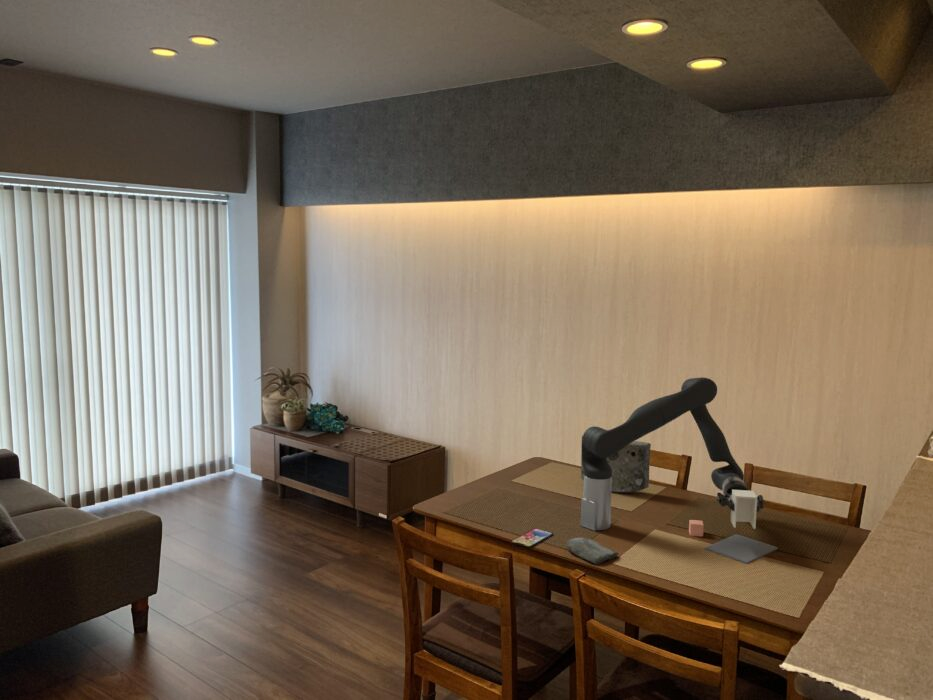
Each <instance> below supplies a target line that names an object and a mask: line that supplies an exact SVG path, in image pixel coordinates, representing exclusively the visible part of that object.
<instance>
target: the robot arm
mask: <svg viewBox="0 0 933 700" xmlns="http://www.w3.org/2000/svg"><path fill="white" fill-rule="evenodd" d="M680 389H681V390H680V391H677V392H675V393H672V394H669V395H665V396H661V397H658V398H656V399H653V400H650V401H648V402H647V403H644V404H641V405H640V406H638V407H637V408H636V409H634V411H633V412H632V413H631V414H630V416H629V417H628V419H627V420H626V421H625V422H623V423H621V424H620V425H618V426H616V427H614V428H611V429H605V428H602V427H600V426H593V425H592V426H590V427H588V428H587V429H586V430H585V431H584V433H583V435H582V436H583V437H582V436H581V449H582V452H581V453H582V466H583V469H584V481H583V494H582V495H583V496H582V497H581V499H580V526H581V527H584V528H586V529H589V530H591V531H595V532H596V531H605V530H608V529H609V528H611V517H612V516H611V514H612V468H611V466H610V465H609V464H608V462H607V459H606V458H608V457H610V456H612V455H614V454H616V453H617V452H618V451H620V450H621V449H623V448H624V447H626V446H627V445H629V444H630V443H632V442H633V441H638V440H639V439H641V438H643V437H645V436H647V435H648V434H650V433H652V432H654V431H657V430H658V429H660V428H662V427H664V426H666V425H668V424H669V423H670V422H672V421H675V420H676V419H677V418H680V417H681V416H682V415H685V414H686V413H687V412H690V413H691V416H692V418H693V419H694V421H695V424H696V425H697V427H698V429H699V432H700V434H701V436H702V439H703V443H704V444H705V447H706V449H707V453H708V456H709V458H710V460H711V462H714V463H722V462H725V463H727V464H728V465H724V466H720V467H717V468H714V470H712V472H711V473H710V474H711V476H710V477H711V481H712V483H713V484H714V486H715V487H716V488H717V489H719V490H720V491H722V493H721V492H717V495H716V501H717V502H718V504H719V505H720V506H721V507H725V506H727V508H728V509H729V510H730V511H731V510H732V511H734V509H735V504H734V502H733V500H732V490H748V491H750V489H749V488H748V487H747V484H746V482H744V479H745V475H744V472H743V470H742V467H740V465H739V464H738V463H737V461H736V459H735V458H734V457H733V455H732V453H731V449H730V448H729V445H728V442H727V439H726V437H725V434H724V433H723V431H722V429H721V428H720V426H719V425H718V424H717V422H716V421H715V420H714V419H713V417H712V415H711V414H710V412H709V409H708V406H707V404H710V403H711V402H712V401H714V400H715V398H716V396H717V394H718V386H717V384H716V382H715V381H714V380H712V378H708V377H704V376H703V377H694V378H693V377H692V378H688V379H686V380H684V381H683V382H682V384H681V388H680ZM756 496H757V495H756ZM764 501H765V499H764V496H763V495H762V494H759V495H758V496H757V510H756V513H759V512H760V511H761V510H763V509H764V503H765V502H764Z"/></svg>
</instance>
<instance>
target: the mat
mask: <svg viewBox="0 0 933 700" xmlns="http://www.w3.org/2000/svg"><path fill="white" fill-rule="evenodd" d="M778 549H779V547H778V546H775V545H771V544H769V543H765V542H763V541H759V540H756V539H754V538H753V539H752V538H750V537H746V536H744V535H740V534H737V533H735V534H733V535H731V536H728V537H726V538H723V539H722V540H719V541H717V542H714V543H712V544H709V545H708V546H705V547H704V550H706V551H709V552H712V553H715V554H718V555H720V556H722V557H727V558H729V559H732V560H735V561H738V562H741V563H743V564H747V565H748V564H749V563H751V562H753V561H756V560H758V559H759V558H762V557H764V556H766V555H767V554H770V553H772V552H774V551H776V550H778Z"/></svg>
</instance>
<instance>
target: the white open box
mask: <svg viewBox="0 0 933 700" xmlns="http://www.w3.org/2000/svg"><path fill="white" fill-rule="evenodd" d="M732 500H733V502H734V504H735V509H734V511H732V510H731V509H730V522H731V525H732V526H733V528H734V529H736V527H737V526H736V525H737V523H738V522H743V523H750V525H751V526H752V529H754V530H756V525H757V524H756V523H757V512H756V510H757V494H756V493H755V492H754V490H749V491H748V490H732Z"/></svg>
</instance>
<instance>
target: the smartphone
mask: <svg viewBox="0 0 933 700" xmlns="http://www.w3.org/2000/svg"><path fill="white" fill-rule="evenodd" d="M552 535H554V532H551V531H547V530H544V529H541V528H532V529H530V530H528V531H527V532H525V533H523V534H521V535H519V536H516V538H513V539H512V540H511V541H510V542H511V543H510V544H511V545H515V546H519V547H521V548H522V547H523V548H525V549H531V548H534V547H535V546H537V545H539V544H541V543H542V542H544V541H546V540H547V539H549V538H551V537H553V536H552ZM550 536H551V537H550ZM548 537H549V538H548ZM545 539H546V540H545Z"/></svg>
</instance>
